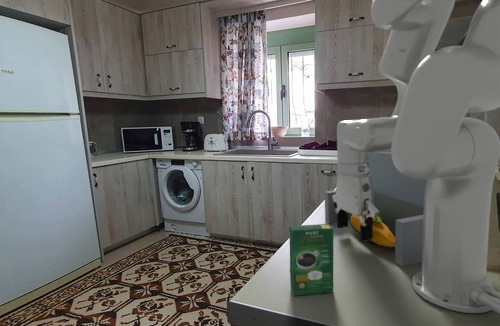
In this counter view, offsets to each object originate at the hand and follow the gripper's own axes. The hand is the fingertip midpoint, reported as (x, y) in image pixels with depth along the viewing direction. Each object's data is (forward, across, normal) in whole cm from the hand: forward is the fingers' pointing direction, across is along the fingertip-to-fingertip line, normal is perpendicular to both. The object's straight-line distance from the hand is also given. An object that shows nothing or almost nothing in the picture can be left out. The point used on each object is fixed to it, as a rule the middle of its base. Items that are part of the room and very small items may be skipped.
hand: (353, 233), depth 77 cm
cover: (-13, 0, -14) cm, 19 cm away
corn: (+3, -1, -5) cm, 6 cm away
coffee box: (+3, -15, +21) cm, 26 cm away
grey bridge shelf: (+3, 0, -7) cm, 8 cm away
